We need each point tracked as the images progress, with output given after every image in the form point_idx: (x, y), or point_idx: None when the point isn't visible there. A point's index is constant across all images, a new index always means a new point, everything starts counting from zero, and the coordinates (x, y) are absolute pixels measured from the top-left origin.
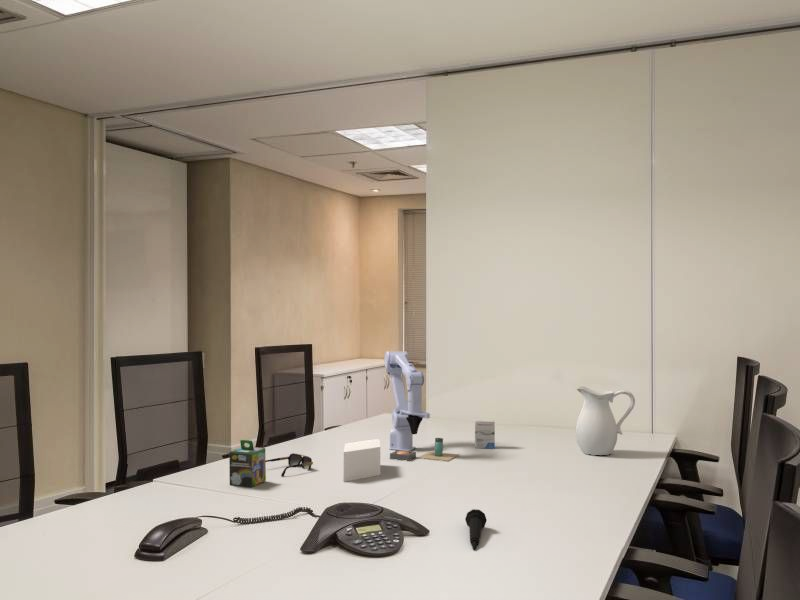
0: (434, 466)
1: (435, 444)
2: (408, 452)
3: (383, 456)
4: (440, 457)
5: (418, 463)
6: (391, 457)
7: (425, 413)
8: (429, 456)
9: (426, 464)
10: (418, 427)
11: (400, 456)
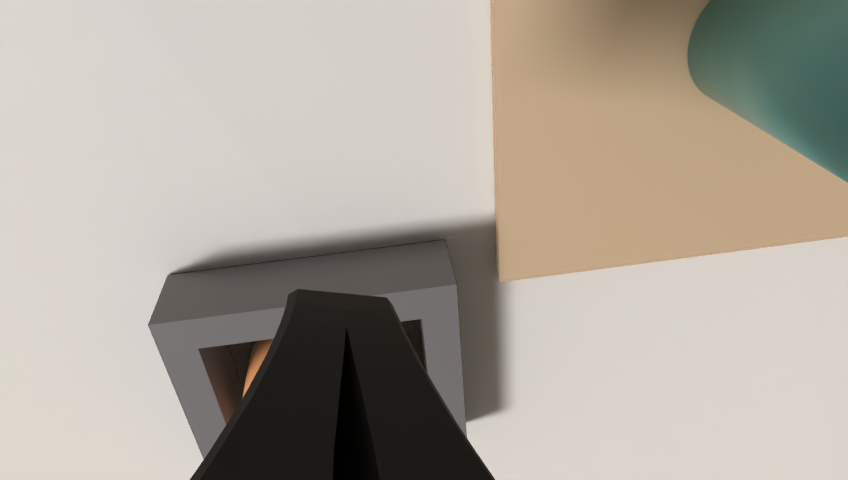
0: (777, 449)
1: (821, 165)
2: None
3: (68, 405)
4: None
5: (600, 442)
6: None
7: None
8: (629, 161)
9: (687, 433)
10: (462, 439)
11: None
